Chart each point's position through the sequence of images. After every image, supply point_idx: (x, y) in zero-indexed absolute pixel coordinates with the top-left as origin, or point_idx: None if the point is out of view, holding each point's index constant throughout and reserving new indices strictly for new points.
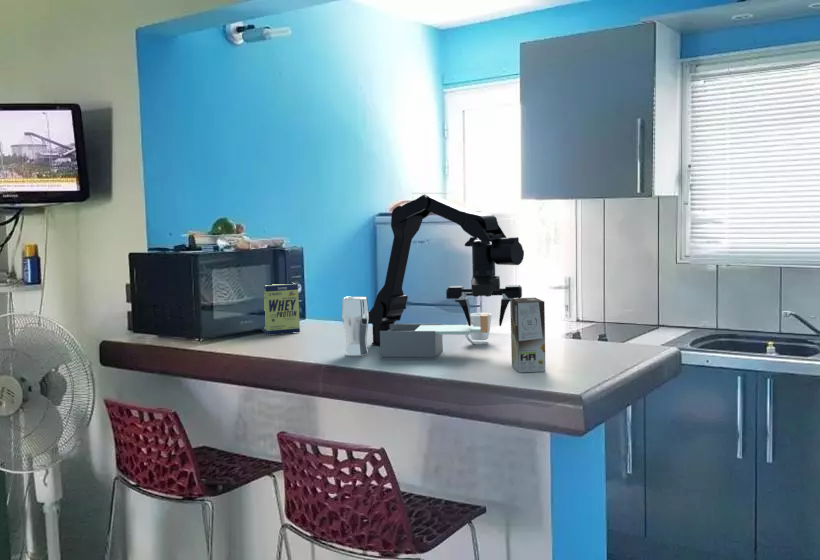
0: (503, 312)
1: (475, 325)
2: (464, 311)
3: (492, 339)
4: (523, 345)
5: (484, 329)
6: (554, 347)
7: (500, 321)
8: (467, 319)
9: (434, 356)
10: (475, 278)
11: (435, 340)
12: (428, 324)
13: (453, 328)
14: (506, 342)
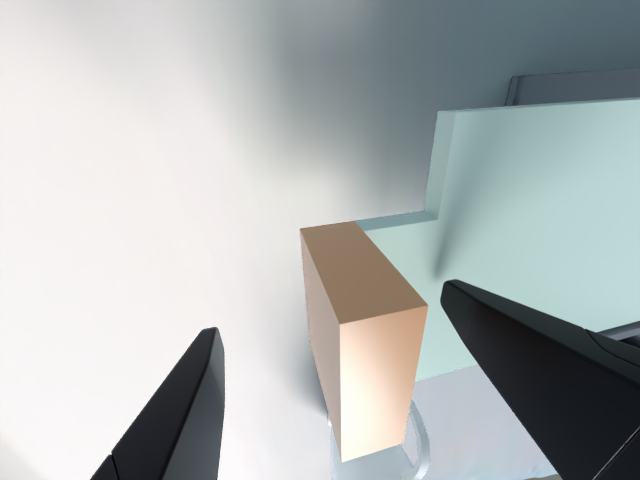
0: (114, 468)
1: (387, 458)
2: (618, 344)
3: (320, 454)
4: None
5: (331, 234)
6: (48, 426)
7: (196, 354)
8: (506, 300)
9: (531, 76)
10: None
11: (616, 78)
12: (612, 334)
13: (537, 247)
14: (270, 437)
